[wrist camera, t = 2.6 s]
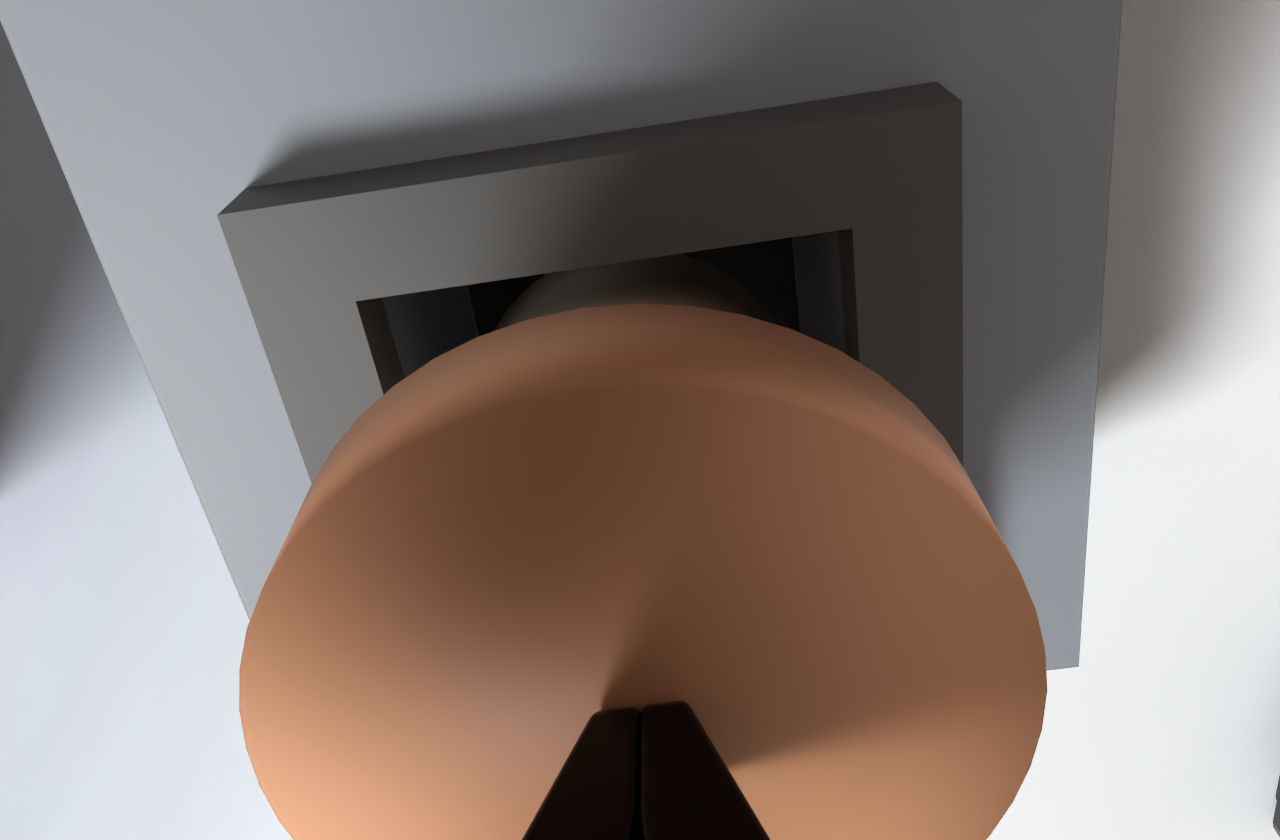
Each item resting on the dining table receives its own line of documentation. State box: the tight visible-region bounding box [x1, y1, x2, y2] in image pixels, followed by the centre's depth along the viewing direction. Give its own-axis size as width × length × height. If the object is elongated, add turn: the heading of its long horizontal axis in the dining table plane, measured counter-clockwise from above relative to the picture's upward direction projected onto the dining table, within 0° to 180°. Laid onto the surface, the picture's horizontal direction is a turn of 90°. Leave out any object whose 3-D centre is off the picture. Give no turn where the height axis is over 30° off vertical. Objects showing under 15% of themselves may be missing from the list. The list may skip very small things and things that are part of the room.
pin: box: [239, 254, 1047, 840], centre depth 12 cm, size 7×7×6 cm
